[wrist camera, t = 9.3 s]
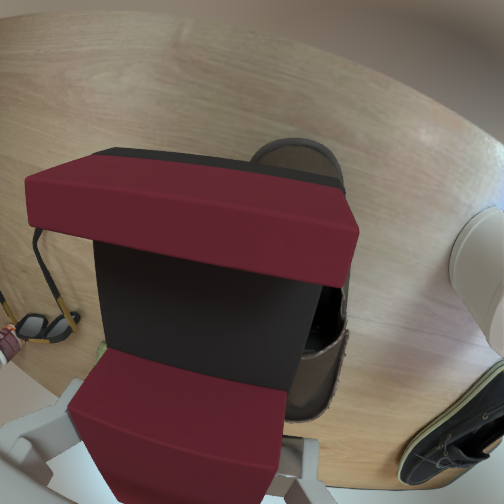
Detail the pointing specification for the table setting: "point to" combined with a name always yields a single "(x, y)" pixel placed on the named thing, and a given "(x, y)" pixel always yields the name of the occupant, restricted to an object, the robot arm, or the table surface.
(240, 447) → the red and black block
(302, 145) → the loafer
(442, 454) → the boat shoe
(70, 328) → the sunglasses
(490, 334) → the jar
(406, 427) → the table surface
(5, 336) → the pill bottle
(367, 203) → the table surface
